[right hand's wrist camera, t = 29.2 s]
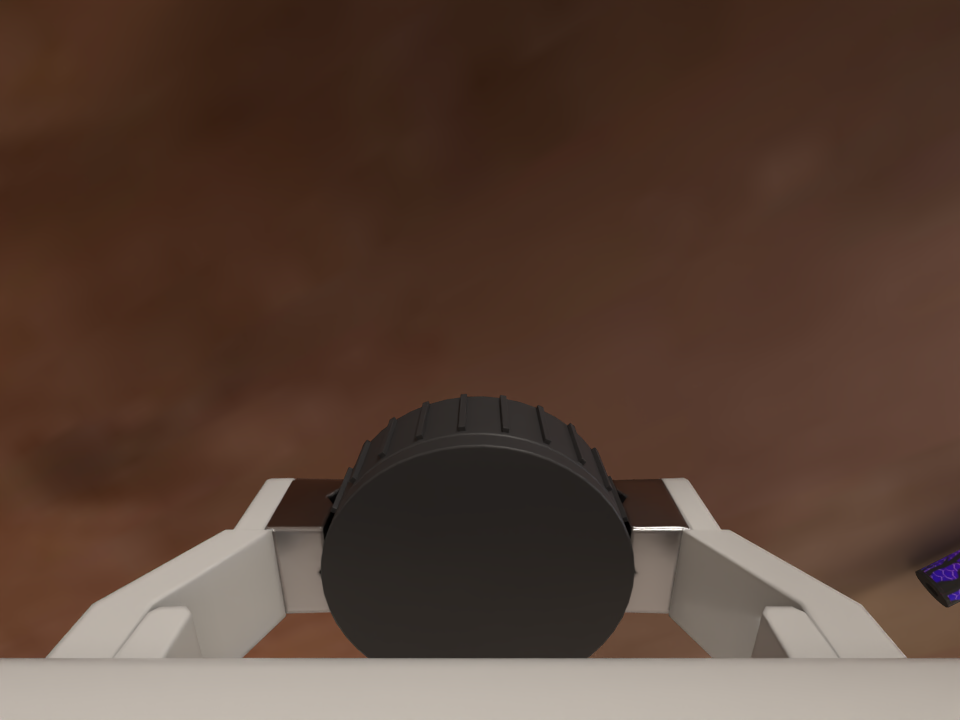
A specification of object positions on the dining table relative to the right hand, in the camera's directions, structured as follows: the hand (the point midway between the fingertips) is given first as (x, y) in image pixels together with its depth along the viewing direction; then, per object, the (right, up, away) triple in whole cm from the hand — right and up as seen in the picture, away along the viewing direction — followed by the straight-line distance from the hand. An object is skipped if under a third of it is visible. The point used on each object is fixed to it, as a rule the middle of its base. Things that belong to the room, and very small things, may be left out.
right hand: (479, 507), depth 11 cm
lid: (0, -1, -2) cm, 2 cm away
